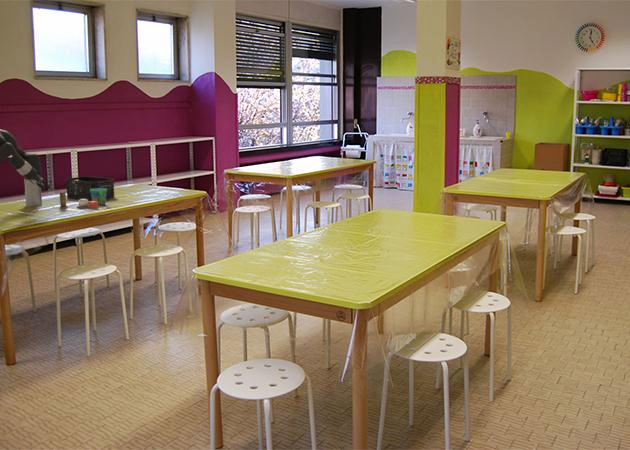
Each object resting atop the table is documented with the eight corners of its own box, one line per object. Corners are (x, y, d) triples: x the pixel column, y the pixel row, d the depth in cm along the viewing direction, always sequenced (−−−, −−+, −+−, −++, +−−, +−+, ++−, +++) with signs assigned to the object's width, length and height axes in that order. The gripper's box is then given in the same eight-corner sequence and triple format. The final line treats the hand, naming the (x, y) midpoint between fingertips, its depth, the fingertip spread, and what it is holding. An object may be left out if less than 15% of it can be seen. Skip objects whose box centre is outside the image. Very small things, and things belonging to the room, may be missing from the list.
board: (57, 210, 412) (56, 202, 411) (79, 206, 425) (78, 198, 424) (77, 213, 402) (76, 205, 401) (99, 209, 415) (98, 201, 414)
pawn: (58, 208, 413) (56, 192, 411) (64, 207, 417) (63, 191, 415) (62, 209, 410) (61, 193, 408) (69, 208, 414) (67, 192, 412)
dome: (76, 205, 416) (76, 199, 415) (84, 204, 420) (84, 198, 420) (82, 206, 413) (82, 200, 412) (90, 204, 417) (89, 199, 417)
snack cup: (109, 206, 427) (108, 190, 425) (92, 207, 422) (91, 191, 420) (106, 202, 441) (105, 187, 438) (89, 203, 436) (88, 188, 434)
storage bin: (116, 197, 461) (115, 178, 458) (96, 201, 444) (94, 181, 441) (86, 194, 474) (84, 175, 471) (64, 198, 457) (63, 179, 454)
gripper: (14, 174, 392) (34, 191, 404) (29, 175, 384) (49, 193, 396) (22, 164, 395) (42, 181, 407) (37, 165, 387) (56, 183, 399)
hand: (45, 187), depth 402 cm, fingers open, 5 cm apart
